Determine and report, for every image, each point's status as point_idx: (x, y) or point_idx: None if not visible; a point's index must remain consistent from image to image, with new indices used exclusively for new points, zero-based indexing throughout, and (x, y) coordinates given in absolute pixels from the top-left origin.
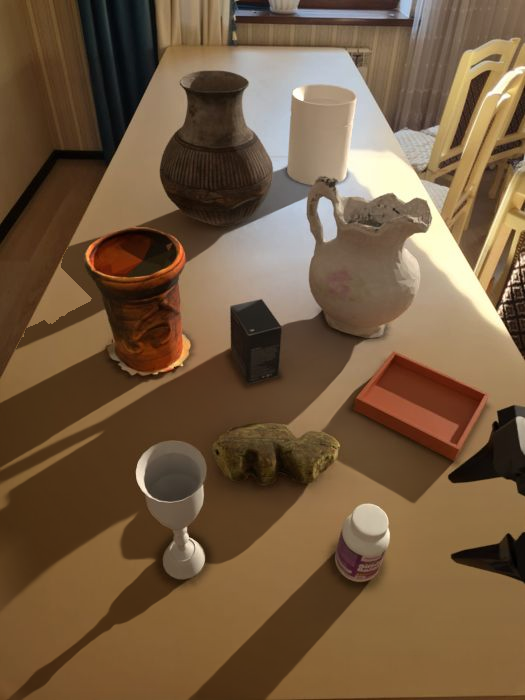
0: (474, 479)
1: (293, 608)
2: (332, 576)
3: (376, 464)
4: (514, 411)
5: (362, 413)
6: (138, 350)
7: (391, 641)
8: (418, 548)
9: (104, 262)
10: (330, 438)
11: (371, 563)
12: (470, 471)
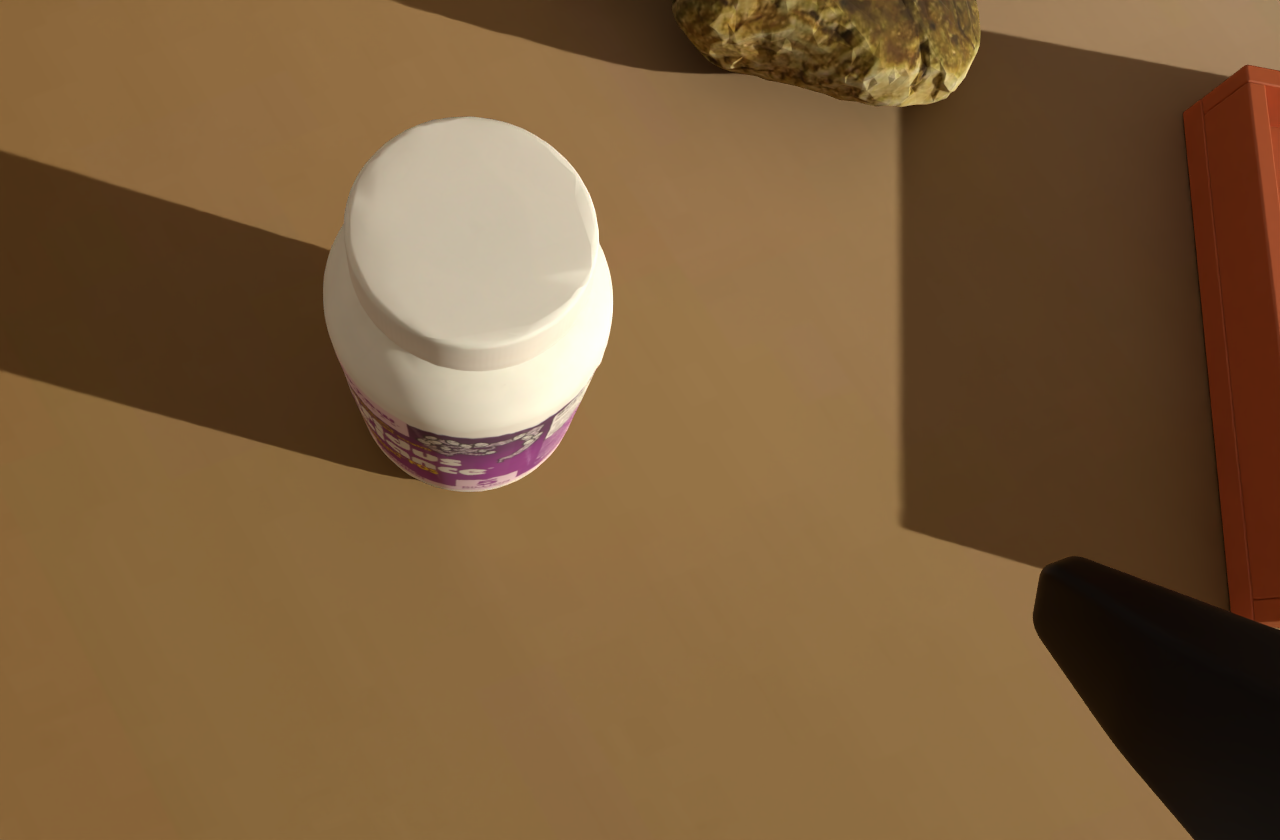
0: (1186, 804)
1: (115, 229)
2: None
3: (983, 301)
4: None
5: (1188, 153)
6: None
7: (174, 674)
8: (690, 625)
9: None
10: (961, 28)
11: (368, 411)
12: (1247, 740)
